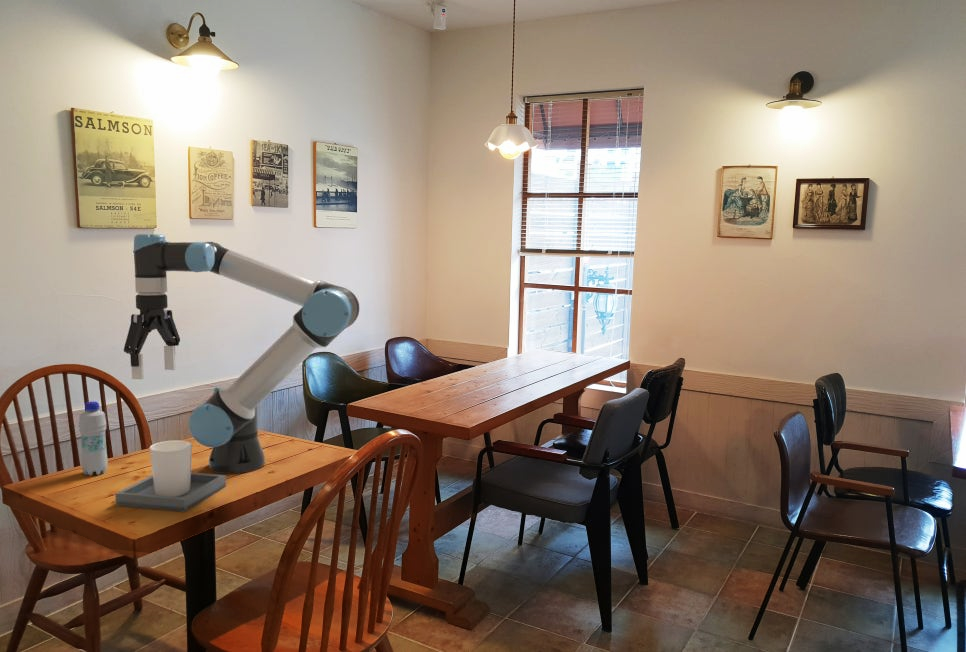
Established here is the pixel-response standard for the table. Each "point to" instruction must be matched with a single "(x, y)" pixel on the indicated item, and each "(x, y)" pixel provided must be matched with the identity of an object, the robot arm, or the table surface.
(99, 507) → the table surface
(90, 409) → the bottle
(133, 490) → the tray
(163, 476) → the candle holder
